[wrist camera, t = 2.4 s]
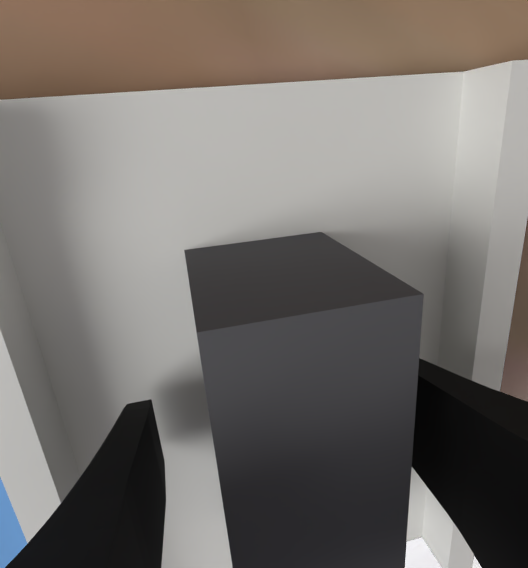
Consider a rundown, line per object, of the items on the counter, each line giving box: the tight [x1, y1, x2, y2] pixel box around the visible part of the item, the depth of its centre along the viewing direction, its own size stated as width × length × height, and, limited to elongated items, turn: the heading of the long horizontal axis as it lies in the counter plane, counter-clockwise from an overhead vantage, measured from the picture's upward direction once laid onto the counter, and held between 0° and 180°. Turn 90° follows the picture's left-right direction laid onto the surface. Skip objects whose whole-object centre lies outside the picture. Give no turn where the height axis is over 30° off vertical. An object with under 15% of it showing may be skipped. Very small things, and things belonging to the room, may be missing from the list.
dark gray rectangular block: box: [184, 232, 424, 568], centre depth 10 cm, size 9×4×4 cm, turn 4°
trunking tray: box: [0, 60, 528, 568], centre depth 10 cm, size 16×25×3 cm, turn 94°
